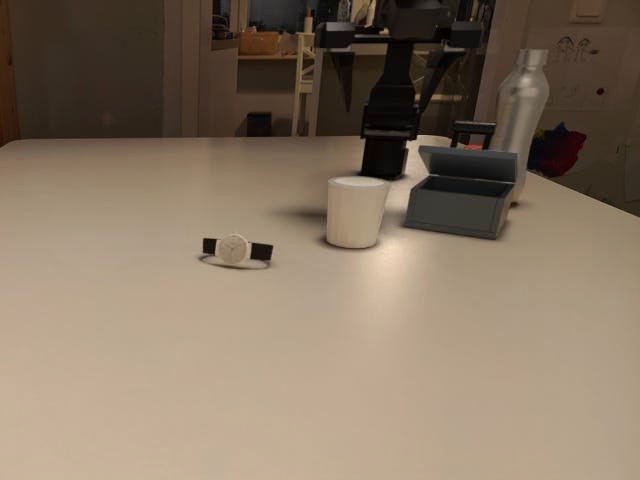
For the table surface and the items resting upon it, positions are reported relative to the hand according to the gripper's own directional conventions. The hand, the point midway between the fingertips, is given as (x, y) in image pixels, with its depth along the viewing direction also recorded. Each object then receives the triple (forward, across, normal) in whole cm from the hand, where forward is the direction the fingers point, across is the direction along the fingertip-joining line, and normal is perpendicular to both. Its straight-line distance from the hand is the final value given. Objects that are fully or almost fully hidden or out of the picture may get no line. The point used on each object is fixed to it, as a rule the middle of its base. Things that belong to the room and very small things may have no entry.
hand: (383, 112), depth 78 cm
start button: (+10, +23, +27) cm, 37 cm away
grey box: (+13, +10, -4) cm, 17 cm away
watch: (+13, -19, -21) cm, 31 cm away
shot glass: (+13, -5, -13) cm, 19 cm away
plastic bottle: (+13, +20, +8) cm, 25 cm away
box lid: (+6, +10, -4) cm, 13 cm away
